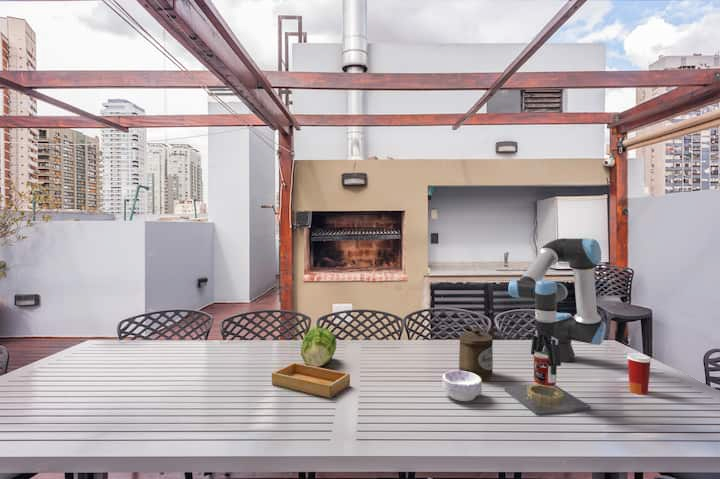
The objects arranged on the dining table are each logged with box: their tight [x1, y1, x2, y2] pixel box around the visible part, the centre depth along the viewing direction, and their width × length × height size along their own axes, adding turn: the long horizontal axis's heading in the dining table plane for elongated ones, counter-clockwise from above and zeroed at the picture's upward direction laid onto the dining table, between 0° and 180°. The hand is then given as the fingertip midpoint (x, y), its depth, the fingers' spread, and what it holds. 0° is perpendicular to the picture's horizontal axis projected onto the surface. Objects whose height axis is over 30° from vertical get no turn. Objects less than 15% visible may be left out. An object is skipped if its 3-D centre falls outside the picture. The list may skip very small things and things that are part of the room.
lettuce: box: [300, 327, 337, 368], centre depth 191 cm, size 18×23×19 cm
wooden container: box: [458, 326, 494, 382], centre depth 176 cm, size 15×15×22 cm
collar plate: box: [503, 383, 592, 416], centre depth 150 cm, size 22×22×4 cm
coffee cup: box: [626, 352, 652, 396], centre depth 158 cm, size 8×8×15 cm
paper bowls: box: [442, 370, 483, 402], centre depth 153 cm, size 15×15×8 cm
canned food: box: [533, 351, 557, 386], centre depth 150 cm, size 8×8×11 cm
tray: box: [271, 362, 351, 399], centre depth 165 cm, size 31×15×6 cm, turn 60°
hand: (545, 378), depth 150 cm, fingers closed on canned food, 8 cm apart
